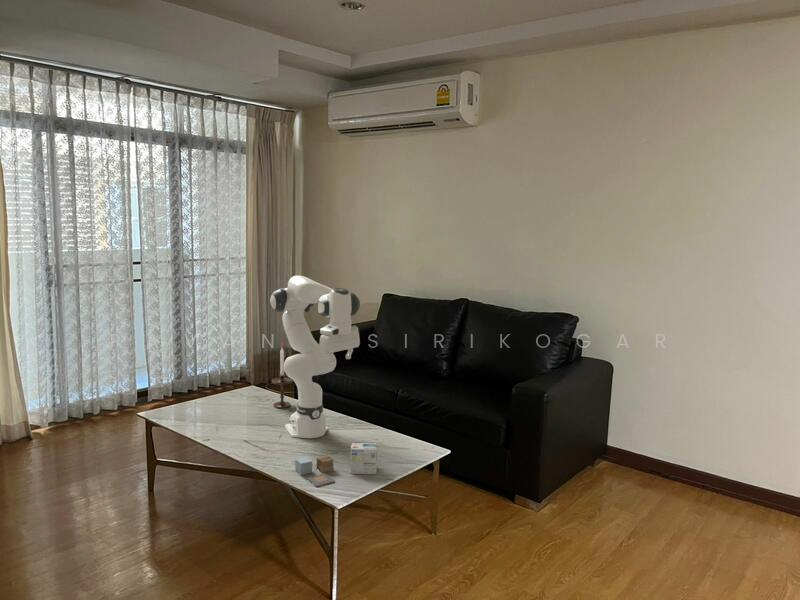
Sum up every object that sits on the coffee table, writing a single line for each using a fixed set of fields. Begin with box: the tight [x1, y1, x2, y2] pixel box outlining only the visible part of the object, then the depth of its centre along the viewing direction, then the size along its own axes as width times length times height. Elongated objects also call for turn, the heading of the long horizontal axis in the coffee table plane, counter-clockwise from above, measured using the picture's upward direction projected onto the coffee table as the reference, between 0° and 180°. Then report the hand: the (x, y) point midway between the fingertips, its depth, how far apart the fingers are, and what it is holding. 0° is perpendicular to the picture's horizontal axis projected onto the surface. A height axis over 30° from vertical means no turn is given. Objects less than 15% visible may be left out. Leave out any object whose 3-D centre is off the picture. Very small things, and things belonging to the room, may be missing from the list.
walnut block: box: [316, 454, 334, 474], centre depth 236 cm, size 5×5×5 cm
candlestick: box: [271, 342, 293, 410], centre depth 310 cm, size 11×11×35 cm
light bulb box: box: [350, 442, 378, 475], centre depth 236 cm, size 11×7×11 cm, turn 92°
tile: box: [306, 473, 336, 488], centre depth 227 cm, size 8×8×1 cm
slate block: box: [294, 456, 313, 476], centre depth 234 cm, size 5×5×5 cm
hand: (340, 360), depth 242 cm, fingers open, 8 cm apart
